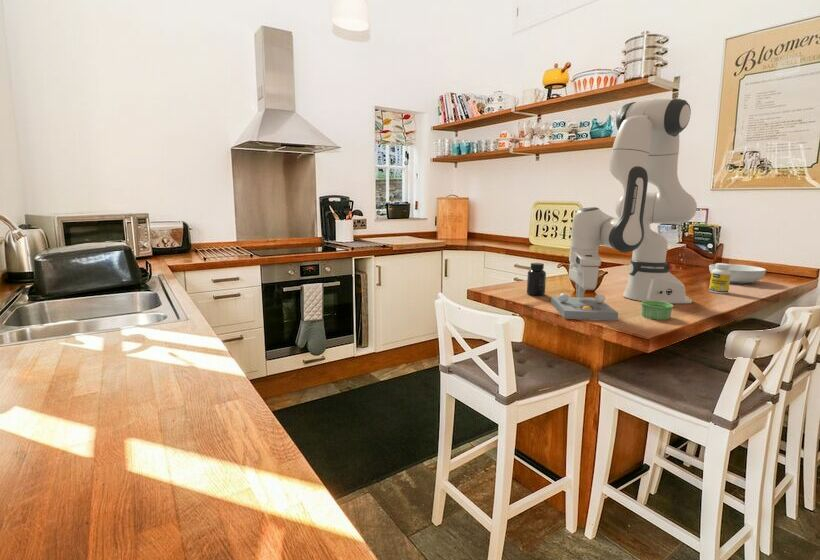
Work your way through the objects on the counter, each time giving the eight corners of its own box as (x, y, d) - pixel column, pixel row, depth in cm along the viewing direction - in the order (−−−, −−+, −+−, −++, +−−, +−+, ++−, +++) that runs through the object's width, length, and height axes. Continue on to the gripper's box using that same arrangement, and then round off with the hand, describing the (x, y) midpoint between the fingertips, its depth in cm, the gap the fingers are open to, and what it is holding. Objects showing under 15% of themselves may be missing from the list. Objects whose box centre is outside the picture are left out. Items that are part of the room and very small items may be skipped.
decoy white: (602, 302, 149) (603, 293, 149) (606, 304, 146) (606, 295, 146) (593, 301, 150) (593, 292, 149) (595, 304, 146) (596, 294, 146)
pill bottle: (705, 291, 181) (709, 263, 179) (714, 290, 184) (718, 262, 182) (722, 294, 175) (726, 265, 173) (731, 293, 178) (736, 264, 176)
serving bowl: (712, 276, 217) (714, 262, 216) (766, 282, 203) (769, 267, 202) (702, 281, 203) (704, 266, 202) (759, 288, 188) (762, 272, 187)
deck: (550, 303, 158) (551, 296, 157) (597, 304, 156) (598, 298, 155) (564, 318, 138) (564, 310, 138) (617, 320, 136) (618, 312, 136)
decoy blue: (566, 301, 150) (567, 292, 149) (569, 303, 146) (570, 294, 146) (557, 301, 150) (557, 292, 149) (559, 303, 147) (560, 294, 146)
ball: (589, 312, 144) (591, 303, 142) (592, 317, 141) (594, 308, 139) (579, 312, 144) (580, 304, 142) (582, 317, 141) (583, 309, 140)
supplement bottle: (542, 292, 175) (545, 262, 172) (546, 296, 168) (548, 265, 166) (525, 292, 175) (527, 261, 173) (527, 295, 169) (529, 264, 166)
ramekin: (665, 314, 146) (666, 301, 145) (676, 321, 137) (678, 307, 136) (635, 312, 147) (637, 299, 146) (645, 320, 138) (646, 306, 137)
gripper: (565, 252, 159) (562, 290, 161) (582, 261, 139) (578, 304, 141) (584, 252, 158) (580, 290, 161) (603, 261, 138) (598, 304, 141)
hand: (579, 297), depth 151 cm, fingers closed
